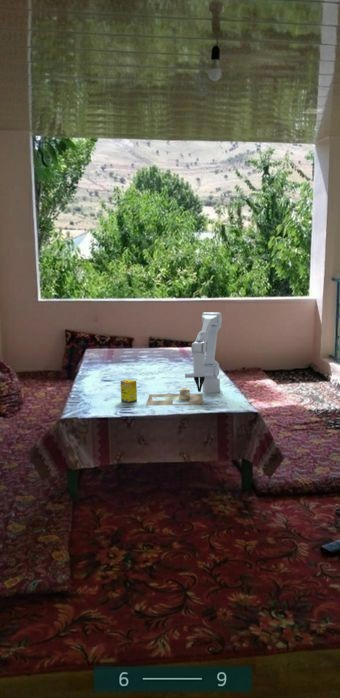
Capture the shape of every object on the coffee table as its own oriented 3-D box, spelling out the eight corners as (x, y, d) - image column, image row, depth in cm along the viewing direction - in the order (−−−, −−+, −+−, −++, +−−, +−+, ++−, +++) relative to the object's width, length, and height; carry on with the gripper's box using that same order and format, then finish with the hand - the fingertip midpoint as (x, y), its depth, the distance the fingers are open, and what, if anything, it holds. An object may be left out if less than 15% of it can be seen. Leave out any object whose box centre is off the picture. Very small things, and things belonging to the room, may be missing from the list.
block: (189, 397, 271) (189, 387, 270) (189, 399, 266) (189, 389, 265) (180, 397, 271) (180, 387, 270) (179, 399, 266) (179, 390, 265)
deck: (202, 396, 277) (202, 393, 277) (203, 407, 256) (203, 404, 255) (149, 397, 279) (149, 394, 278) (145, 408, 257) (145, 405, 257)
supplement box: (120, 401, 271) (120, 380, 269) (129, 399, 275) (129, 378, 274) (128, 403, 267) (127, 382, 265) (137, 401, 271) (136, 380, 269)
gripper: (184, 366, 262) (185, 393, 264) (213, 366, 261) (214, 393, 263) (184, 364, 269) (185, 390, 271) (213, 364, 268) (213, 389, 270)
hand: (199, 391), depth 267 cm, fingers closed
